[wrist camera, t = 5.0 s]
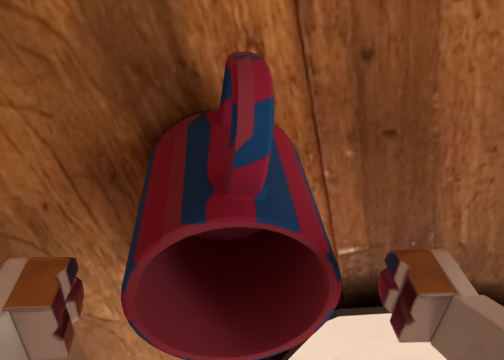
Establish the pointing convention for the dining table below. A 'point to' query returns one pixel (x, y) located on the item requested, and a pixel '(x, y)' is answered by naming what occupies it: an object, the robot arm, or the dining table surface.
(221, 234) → the mug
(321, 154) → the dining table surface
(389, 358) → the plate
